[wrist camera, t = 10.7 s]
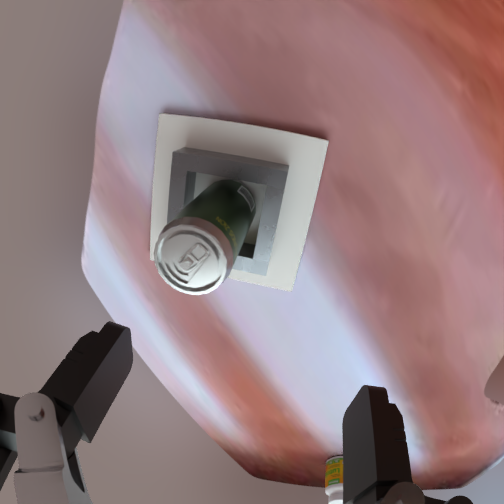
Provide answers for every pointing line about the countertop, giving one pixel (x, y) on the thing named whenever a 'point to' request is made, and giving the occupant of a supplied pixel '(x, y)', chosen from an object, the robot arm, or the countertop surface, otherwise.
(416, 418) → the countertop surface
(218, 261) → the beer can
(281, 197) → the can collar
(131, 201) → the countertop surface
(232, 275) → the holder plate
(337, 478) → the supplement bottle
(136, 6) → the countertop surface
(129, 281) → the countertop surface
